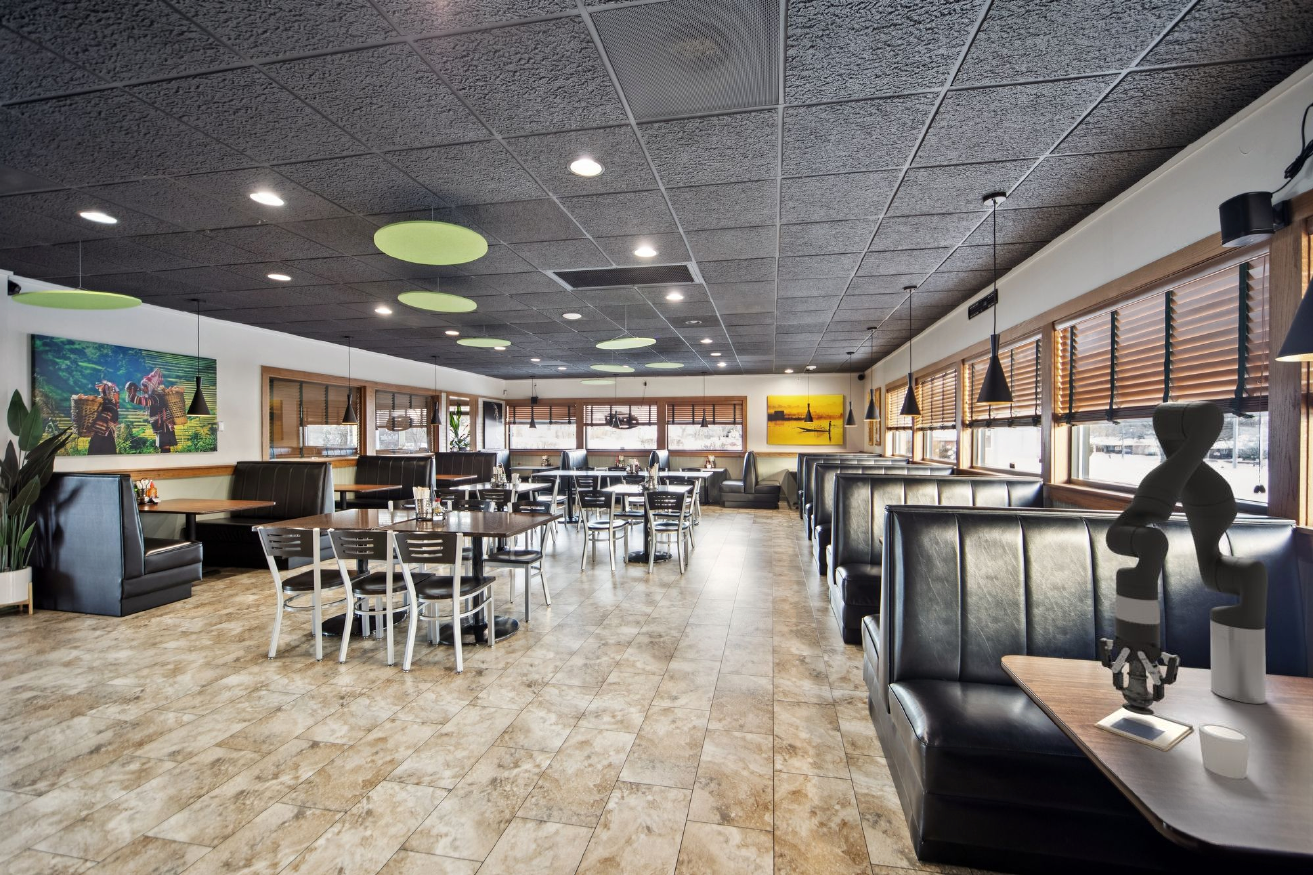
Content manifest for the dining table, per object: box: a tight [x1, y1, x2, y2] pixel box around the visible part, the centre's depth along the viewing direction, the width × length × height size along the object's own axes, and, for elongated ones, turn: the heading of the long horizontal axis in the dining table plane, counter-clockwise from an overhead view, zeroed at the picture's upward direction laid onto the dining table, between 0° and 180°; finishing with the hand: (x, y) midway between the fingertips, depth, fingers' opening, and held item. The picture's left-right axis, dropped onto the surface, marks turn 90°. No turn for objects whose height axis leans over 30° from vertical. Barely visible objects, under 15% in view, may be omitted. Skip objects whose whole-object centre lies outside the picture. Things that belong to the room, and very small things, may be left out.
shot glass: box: [1197, 723, 1251, 780], centre depth 106 cm, size 7×7×7 cm
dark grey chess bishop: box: [1120, 660, 1155, 715], centre depth 124 cm, size 6×6×12 cm
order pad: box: [1093, 707, 1195, 752], centre depth 121 cm, size 16×12×1 cm
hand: (1137, 694), depth 124 cm, fingers closed on dark grey chess bishop, 6 cm apart
